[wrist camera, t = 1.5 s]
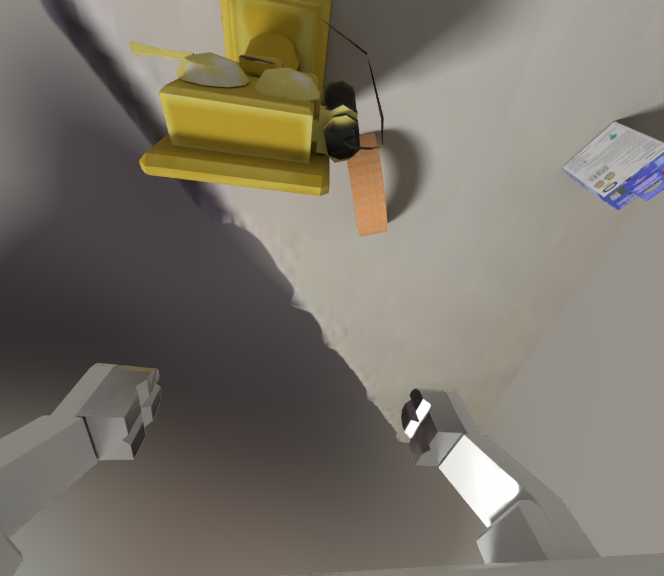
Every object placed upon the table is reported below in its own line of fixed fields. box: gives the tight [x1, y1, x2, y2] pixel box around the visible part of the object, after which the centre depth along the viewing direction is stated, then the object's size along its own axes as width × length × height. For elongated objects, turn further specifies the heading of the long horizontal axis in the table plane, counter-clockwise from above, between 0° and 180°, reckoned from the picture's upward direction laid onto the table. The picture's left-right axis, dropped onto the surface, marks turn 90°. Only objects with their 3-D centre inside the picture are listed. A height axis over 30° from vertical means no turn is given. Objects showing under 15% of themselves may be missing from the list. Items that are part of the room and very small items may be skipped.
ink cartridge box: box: [563, 121, 664, 210], centre depth 49 cm, size 10×6×14 cm, turn 151°
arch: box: [347, 132, 387, 236], centre depth 55 cm, size 6×20×10 cm, turn 12°
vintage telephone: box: [130, 0, 384, 196], centre depth 33 cm, size 31×14×30 cm, turn 82°
